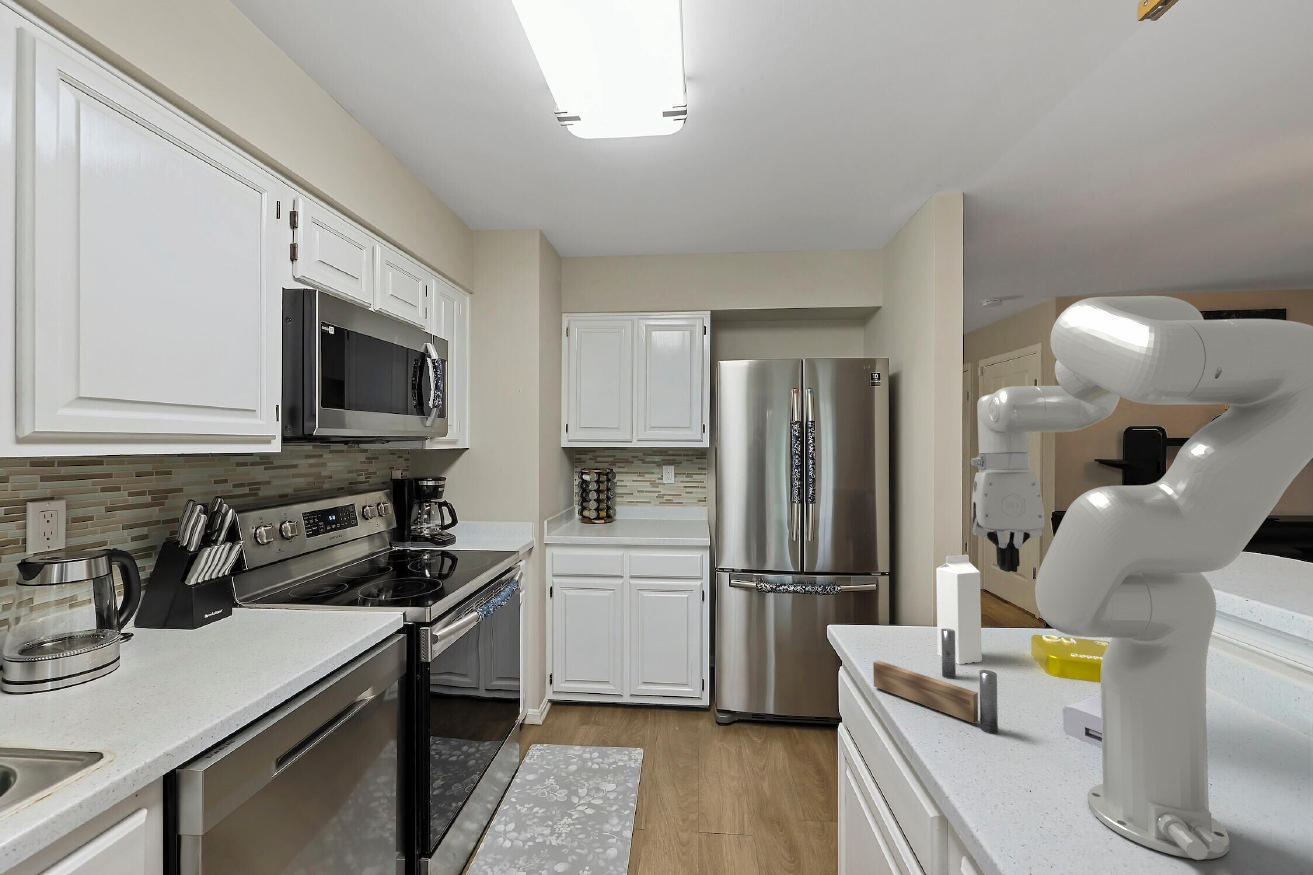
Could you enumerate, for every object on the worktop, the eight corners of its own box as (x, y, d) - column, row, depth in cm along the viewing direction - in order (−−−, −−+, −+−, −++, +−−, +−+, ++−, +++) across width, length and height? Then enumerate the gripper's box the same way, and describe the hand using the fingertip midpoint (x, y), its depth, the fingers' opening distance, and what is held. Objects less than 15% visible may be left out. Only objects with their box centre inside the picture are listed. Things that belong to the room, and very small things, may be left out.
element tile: (1048, 678, 112) (1048, 653, 112) (1029, 652, 126) (1028, 631, 126) (1143, 689, 107) (1142, 663, 107) (1111, 661, 121) (1111, 638, 121)
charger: (1183, 738, 88) (1133, 762, 81) (1113, 714, 96) (1063, 734, 89) (1182, 707, 88) (1132, 729, 81) (1113, 685, 96) (1062, 703, 90)
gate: (978, 720, 93) (977, 692, 93) (973, 723, 92) (973, 695, 92) (878, 684, 107) (878, 660, 107) (873, 686, 106) (873, 661, 106)
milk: (981, 662, 120) (981, 557, 120) (958, 665, 118) (957, 558, 118) (959, 652, 125) (958, 552, 126) (936, 654, 124) (935, 553, 124)
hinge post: (1000, 734, 89) (999, 676, 89) (983, 732, 90) (982, 675, 90) (994, 726, 91) (993, 670, 92) (978, 725, 92) (977, 669, 92)
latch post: (957, 679, 111) (956, 632, 111) (944, 678, 111) (943, 631, 111) (953, 674, 113) (952, 628, 113) (940, 673, 113) (939, 628, 114)
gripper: (965, 464, 97) (969, 573, 96) (1062, 463, 94) (1068, 575, 93) (950, 464, 104) (954, 566, 103) (1040, 464, 102) (1045, 568, 100)
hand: (1008, 570), depth 98 cm, fingers closed
